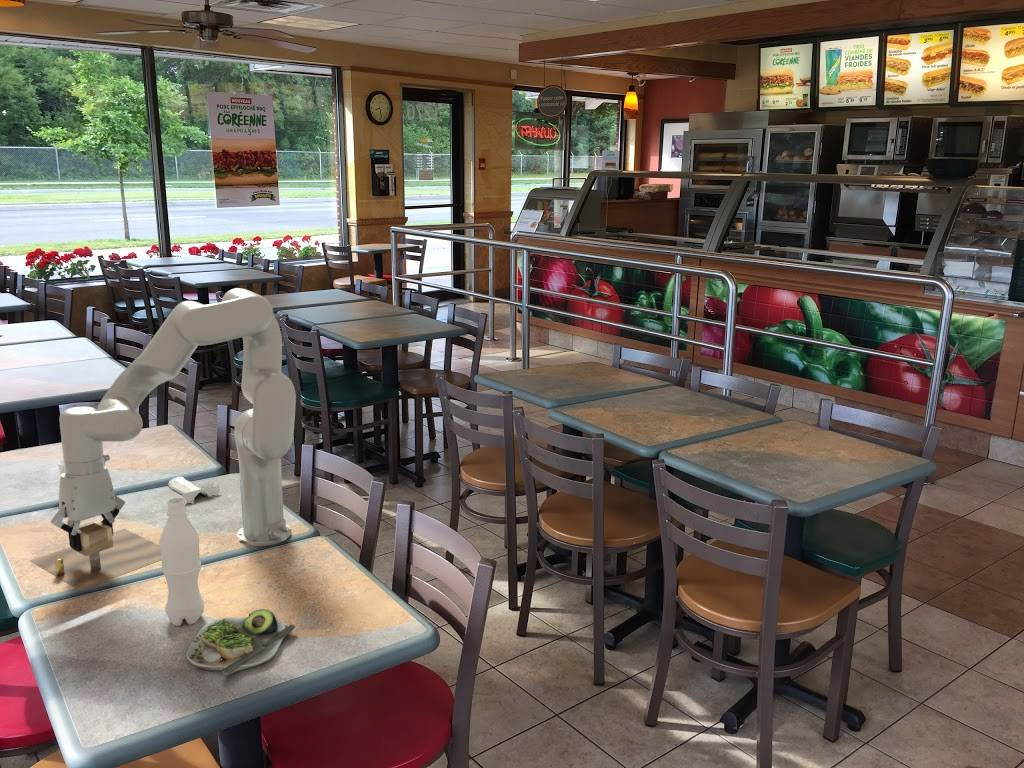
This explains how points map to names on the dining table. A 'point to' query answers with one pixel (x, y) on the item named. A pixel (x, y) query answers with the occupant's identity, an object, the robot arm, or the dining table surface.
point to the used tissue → (192, 489)
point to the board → (103, 560)
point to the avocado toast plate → (239, 641)
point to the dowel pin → (59, 567)
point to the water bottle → (181, 565)
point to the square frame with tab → (95, 537)
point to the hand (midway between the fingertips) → (92, 543)
